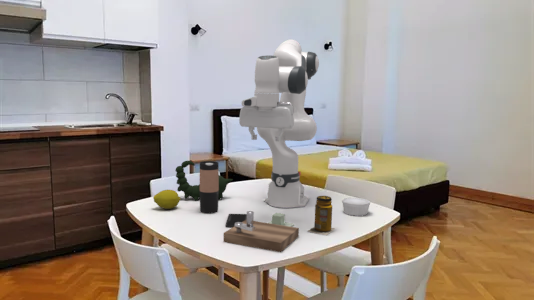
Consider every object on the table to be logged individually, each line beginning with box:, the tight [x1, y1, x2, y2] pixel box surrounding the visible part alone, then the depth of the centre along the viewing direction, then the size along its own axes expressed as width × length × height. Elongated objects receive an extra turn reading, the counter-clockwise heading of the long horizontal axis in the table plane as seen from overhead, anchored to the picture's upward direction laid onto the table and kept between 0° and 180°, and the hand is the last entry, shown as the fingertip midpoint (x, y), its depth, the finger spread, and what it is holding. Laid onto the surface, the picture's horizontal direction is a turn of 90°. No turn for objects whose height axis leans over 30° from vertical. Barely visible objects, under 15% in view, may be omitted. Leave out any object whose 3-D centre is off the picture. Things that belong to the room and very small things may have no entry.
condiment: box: [307, 195, 336, 236], centre depth 147 cm, size 7×8×12 cm
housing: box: [223, 220, 300, 253], centre depth 138 cm, size 16×20×4 cm
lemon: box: [153, 189, 182, 210], centre depth 171 cm, size 11×8×8 cm
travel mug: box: [199, 160, 220, 215], centre depth 168 cm, size 8×8×20 cm
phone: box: [225, 213, 247, 229], centre depth 157 cm, size 8×1×15 cm
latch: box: [235, 210, 255, 231], centre depth 134 cm, size 7×3×6 cm, turn 54°
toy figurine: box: [174, 160, 234, 201], centre depth 188 cm, size 9×19×25 cm
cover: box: [267, 212, 295, 227], centre depth 150 cm, size 9×9×5 cm
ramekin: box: [341, 197, 371, 217], centre depth 171 cm, size 11×11×5 cm
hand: (265, 140), depth 150 cm, fingers open, 8 cm apart
